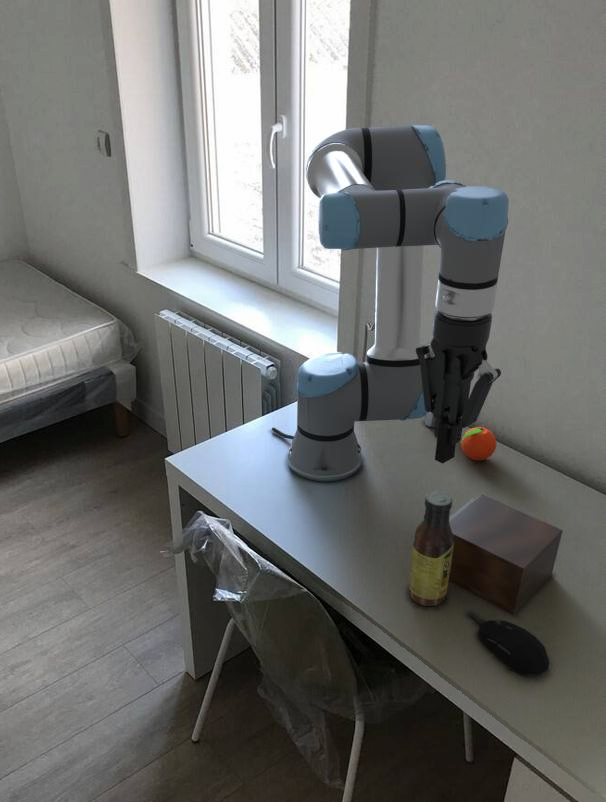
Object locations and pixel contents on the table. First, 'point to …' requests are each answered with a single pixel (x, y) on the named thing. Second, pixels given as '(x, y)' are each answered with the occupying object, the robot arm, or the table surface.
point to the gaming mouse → (514, 646)
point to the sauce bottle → (432, 552)
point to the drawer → (462, 508)
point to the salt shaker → (429, 419)
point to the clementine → (478, 443)
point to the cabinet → (502, 552)
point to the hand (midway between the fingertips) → (444, 458)
